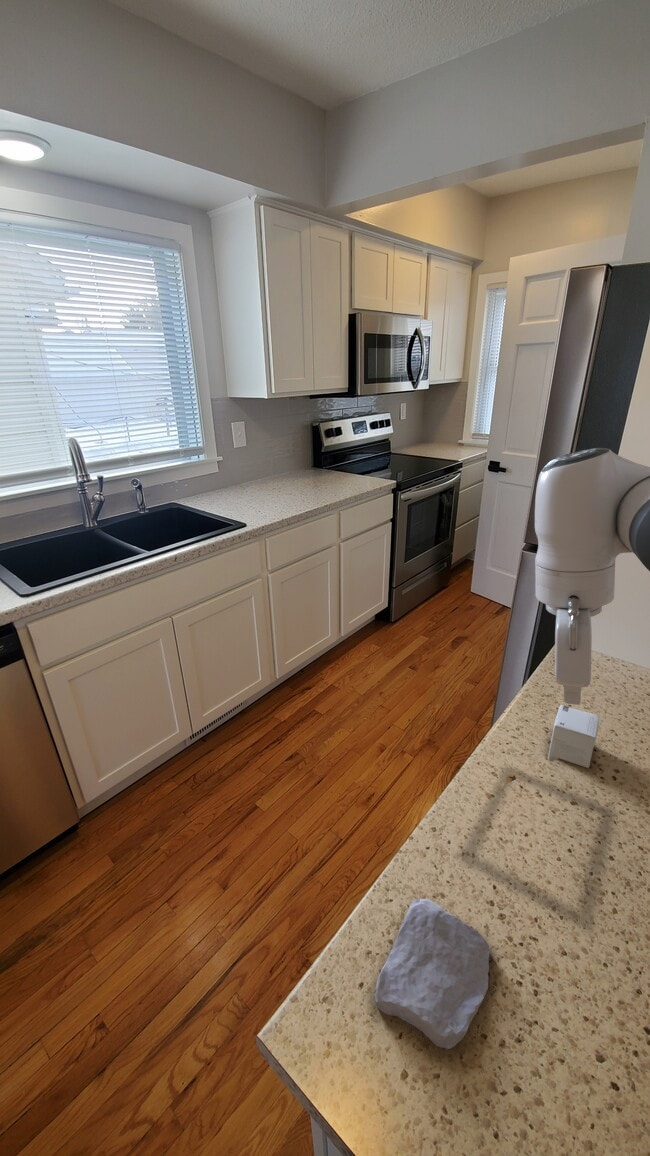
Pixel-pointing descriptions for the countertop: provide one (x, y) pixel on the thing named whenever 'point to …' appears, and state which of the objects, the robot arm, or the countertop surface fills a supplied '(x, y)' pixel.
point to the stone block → (435, 974)
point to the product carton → (573, 736)
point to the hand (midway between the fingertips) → (572, 682)
